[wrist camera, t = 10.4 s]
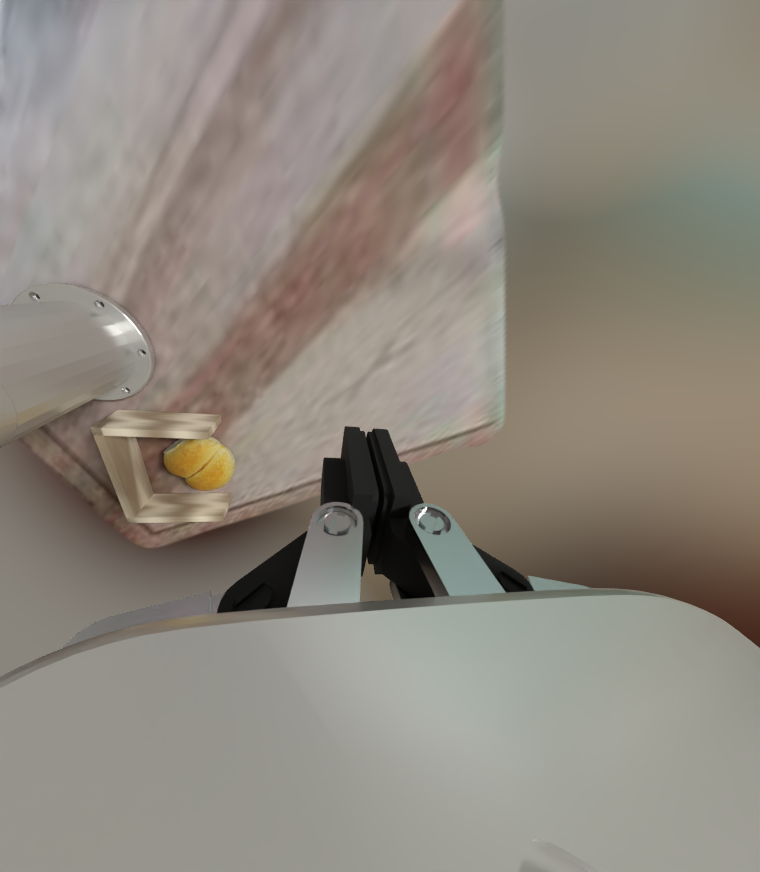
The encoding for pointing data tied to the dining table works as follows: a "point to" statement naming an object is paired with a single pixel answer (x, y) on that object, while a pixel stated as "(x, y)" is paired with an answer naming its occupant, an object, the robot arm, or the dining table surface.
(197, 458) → the bread roll
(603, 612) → the robot arm
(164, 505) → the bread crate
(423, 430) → the dining table surface
